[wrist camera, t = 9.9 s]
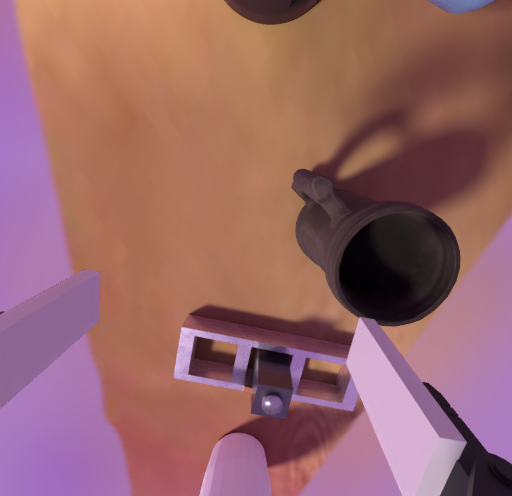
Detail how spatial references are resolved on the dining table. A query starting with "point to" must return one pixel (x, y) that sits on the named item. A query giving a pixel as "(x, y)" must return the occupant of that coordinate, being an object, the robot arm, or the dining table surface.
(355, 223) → the beer stein
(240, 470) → the bottle
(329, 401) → the frame with square openings
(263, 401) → the square peg with dome
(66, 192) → the dining table surface
